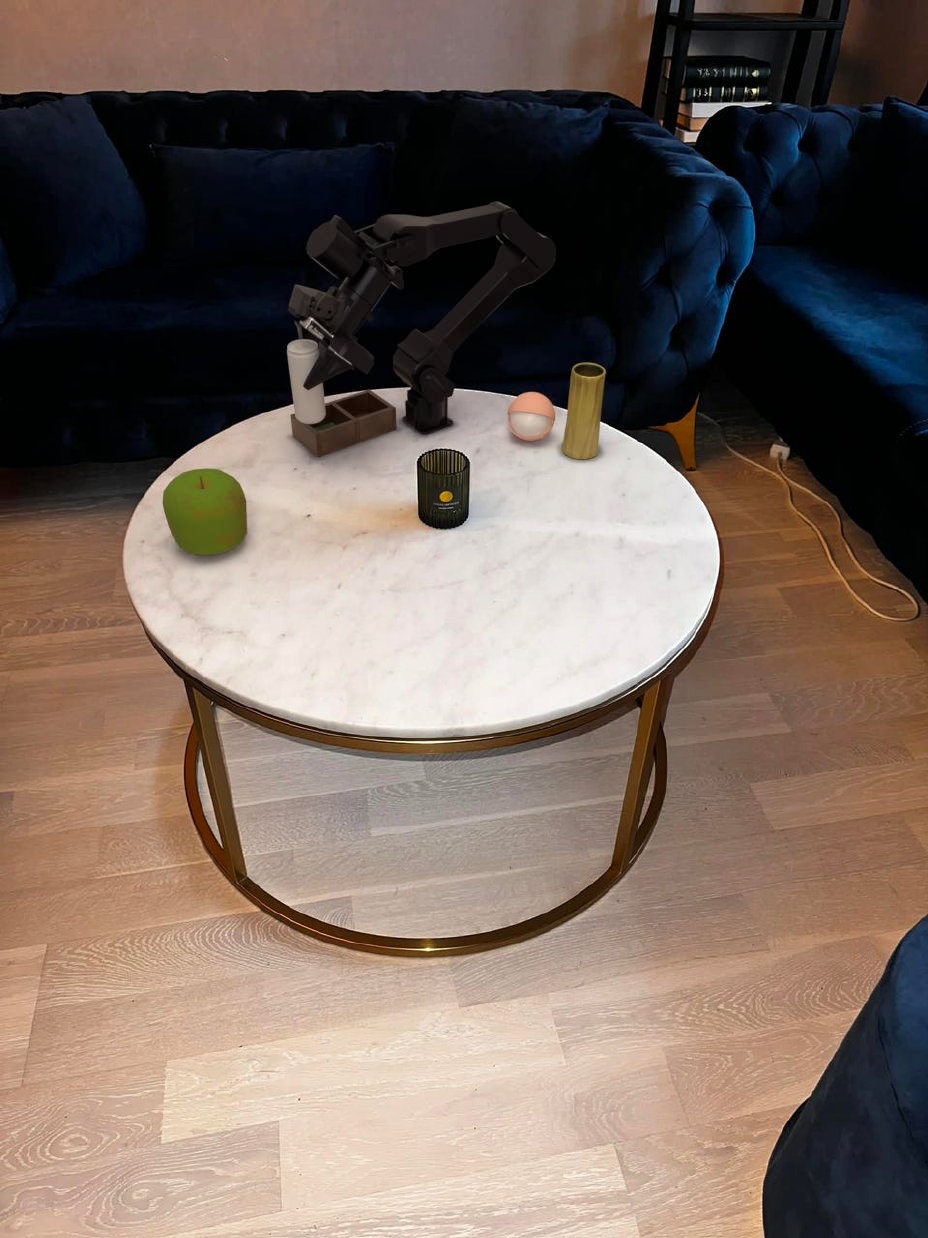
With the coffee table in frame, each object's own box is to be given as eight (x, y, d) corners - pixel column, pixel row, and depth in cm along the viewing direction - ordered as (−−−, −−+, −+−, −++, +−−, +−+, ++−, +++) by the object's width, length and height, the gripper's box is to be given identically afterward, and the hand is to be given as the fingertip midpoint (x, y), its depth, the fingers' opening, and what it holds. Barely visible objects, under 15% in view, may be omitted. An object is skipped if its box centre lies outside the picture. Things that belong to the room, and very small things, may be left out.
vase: (556, 455, 154) (564, 374, 144) (567, 437, 158) (575, 358, 149) (592, 463, 152) (602, 381, 143) (602, 445, 156) (613, 365, 147)
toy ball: (501, 444, 156) (503, 401, 151) (511, 422, 161) (514, 380, 156) (548, 452, 154) (552, 408, 149) (557, 430, 160) (561, 387, 155)
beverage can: (306, 407, 150) (298, 336, 142) (332, 414, 149) (325, 342, 141) (289, 420, 147) (279, 348, 139) (315, 428, 145) (306, 355, 137)
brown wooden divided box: (370, 410, 164) (369, 389, 161) (396, 429, 159) (395, 407, 156) (292, 436, 156) (290, 414, 154) (317, 457, 152) (315, 434, 149)
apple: (156, 548, 132) (140, 482, 125) (209, 511, 139) (196, 447, 132) (216, 574, 128) (202, 507, 121) (267, 535, 135) (258, 470, 128)
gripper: (292, 244, 140) (234, 331, 143) (349, 286, 128) (283, 380, 131) (344, 285, 148) (288, 367, 151) (401, 329, 136) (339, 416, 139)
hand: (298, 381), depth 143 cm, fingers closed on beverage can, 5 cm apart
